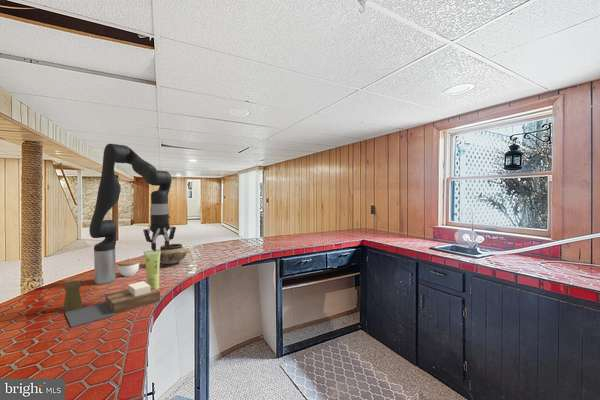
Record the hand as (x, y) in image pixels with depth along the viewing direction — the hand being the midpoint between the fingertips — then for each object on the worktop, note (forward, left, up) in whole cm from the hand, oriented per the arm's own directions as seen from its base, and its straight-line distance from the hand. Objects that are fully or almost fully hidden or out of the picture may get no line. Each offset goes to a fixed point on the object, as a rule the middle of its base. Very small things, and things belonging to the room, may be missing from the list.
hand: (160, 249), depth 122 cm
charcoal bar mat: (0, -27, -21) cm, 34 cm away
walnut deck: (0, -12, -21) cm, 24 cm away
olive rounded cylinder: (-13, -30, -22) cm, 39 cm away
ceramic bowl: (-51, +25, -22) cm, 60 cm away
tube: (-11, 0, -22) cm, 24 cm away
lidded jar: (-47, -1, -22) cm, 51 cm away
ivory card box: (0, -9, -17) cm, 20 cm away
